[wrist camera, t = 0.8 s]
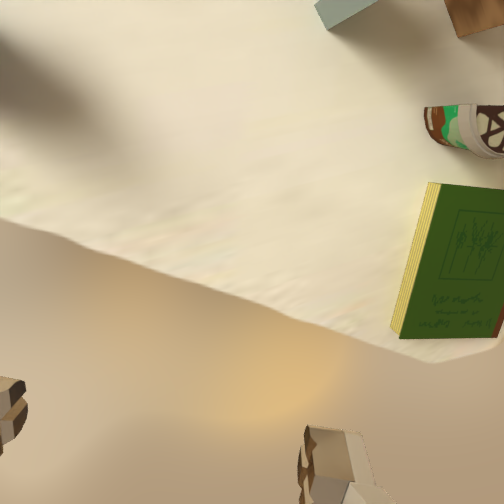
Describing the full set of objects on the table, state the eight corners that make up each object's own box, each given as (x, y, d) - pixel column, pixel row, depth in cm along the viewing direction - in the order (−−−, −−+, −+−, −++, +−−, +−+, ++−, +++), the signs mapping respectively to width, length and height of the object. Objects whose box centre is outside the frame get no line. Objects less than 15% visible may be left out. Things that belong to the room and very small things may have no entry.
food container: (408, 155, 51) (461, 162, 41) (414, 107, 48) (472, 103, 39) (484, 152, 53) (550, 159, 44) (493, 107, 51) (565, 103, 42)
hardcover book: (479, 326, 65) (497, 337, 61) (386, 326, 60) (399, 339, 57) (528, 185, 57) (551, 189, 54) (426, 174, 53) (444, 178, 49)
